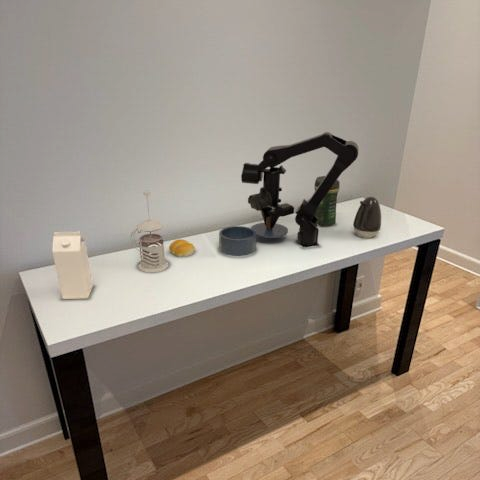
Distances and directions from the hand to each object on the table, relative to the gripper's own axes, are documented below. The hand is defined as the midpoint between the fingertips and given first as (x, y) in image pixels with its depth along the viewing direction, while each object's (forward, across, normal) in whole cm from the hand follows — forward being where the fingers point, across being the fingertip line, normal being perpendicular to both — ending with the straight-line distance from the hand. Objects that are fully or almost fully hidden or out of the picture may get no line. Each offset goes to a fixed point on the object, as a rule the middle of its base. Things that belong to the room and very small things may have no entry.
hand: (269, 227), depth 163 cm
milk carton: (+5, -4, -71) cm, 71 cm away
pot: (+5, 0, -15) cm, 16 cm away
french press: (+5, -8, -45) cm, 46 cm away
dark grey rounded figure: (+5, +19, +32) cm, 38 cm away
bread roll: (+5, -10, -31) cm, 33 cm away
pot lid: (+1, 0, 0) cm, 1 cm away
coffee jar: (+5, 0, +30) cm, 30 cm away
